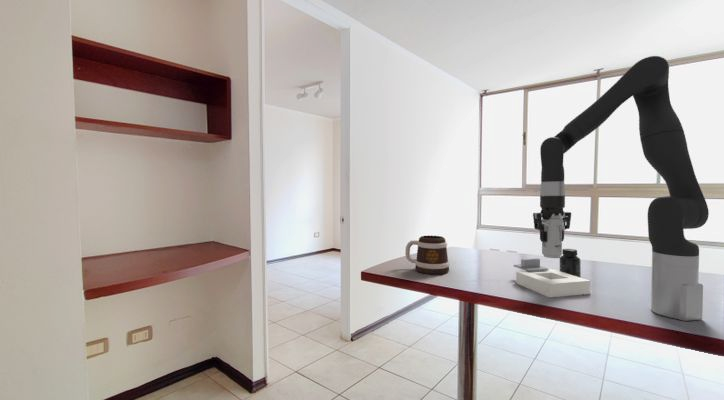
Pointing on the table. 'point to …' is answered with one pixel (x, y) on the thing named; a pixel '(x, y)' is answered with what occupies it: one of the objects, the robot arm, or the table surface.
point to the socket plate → (553, 283)
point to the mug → (430, 255)
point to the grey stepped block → (531, 265)
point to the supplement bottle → (570, 262)
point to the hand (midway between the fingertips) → (551, 241)
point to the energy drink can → (553, 238)
